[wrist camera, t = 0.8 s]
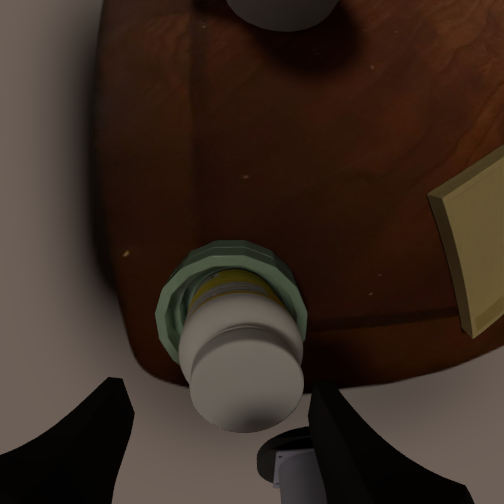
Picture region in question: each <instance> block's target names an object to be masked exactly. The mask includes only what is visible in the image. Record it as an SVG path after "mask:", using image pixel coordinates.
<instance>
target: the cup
mask: <svg viewBox="0 0 504 504" xmlns="http://www.w3.org/2000/svg"><path fill="white" fill-rule="evenodd" d="M226 1H227V3H228V5H229V7H230V8H231V9H232V10H233V11H234V12H235V14H236V15H238V16H239V17H241V18H242V19H243V20H245V21H246V22H248V23H250V24H253V25H255V26H257V27H260V28H263V29H268V30H273V31H286V32H293V31H298V30H304V29H308V28H310V27H312V26H315V25H317V24H319V23H320V22H321V21H323V20H324V19H325V18H327V17H328V15H329V14H330V13H331V12H332V10H333V8H334V7H335V5H336V4H337V2H338V1H339V0H226Z"/></svg>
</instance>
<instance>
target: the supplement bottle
mask: <svg viewBox="0 0 504 504" xmlns="http://www.w3.org/2000/svg"><path fill="white" fill-rule="evenodd" d="M302 357H303V343H302V337H301V334H300V331H299V329H298V327H297V325H296V323H295V321H294V319H293V317H292V316H291V315H290V313H289V312H288V310H287V309H286V307H285V306H284V305H283V303H282V302H281V300H280V299H279V297H278V296H277V295H276V293H275V292H274V290H273V289H272V287H271V286H270V285H269V283H268V282H267V281H266V280H265V279H264V278H263V277H261V276H260V275H258V274H257V273H255V272H253V271H250V270H247V269H244V268H235V267H234V268H225V269H221V270H218V271H216V272H214V273H212V274H210V275H209V276H207V277H206V278H205V279H204V280H203V281H202V282H201V283H200V284H199V286H198V287H197V289H196V290H195V292H194V294H193V297H192V300H191V303H190V306H189V310H188V313H187V317H186V320H185V323H184V327H183V330H182V333H181V337H180V342H179V362H180V366H181V369H182V372H183V374H184V376H185V378H186V380H187V381H188V383H189V384H190V385H189V389H190V396H191V399H192V402H193V405H194V406H195V408H196V410H197V411H198V412H199V414H200V415H201V416H202V417H203V418H204V419H205V420H207V421H208V422H209V423H211V424H213V425H214V426H217V427H218V428H221V429H224V430H227V431H231V432H238V433H251V432H258V431H262V430H265V429H268V428H271V427H273V426H275V425H277V424H279V423H280V422H282V421H283V420H284V419H286V418H287V417H288V416H289V415H290V414H291V413H292V412H293V411H294V410H295V408H296V407H297V405H298V404H299V402H300V399H301V397H302V394H303V389H304V377H303V372H302V370H301V367H300V366H301V362H302Z"/></svg>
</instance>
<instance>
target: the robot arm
mask: <svg viewBox="0 0 504 504" xmlns="http://www.w3.org/2000/svg"><path fill="white" fill-rule="evenodd" d="M134 414H135V413H134V410H133V407H132V405H131V402H130V399H129V396H128V394H127V391H126V388H125V385H124V382H123V379H122V378H113V377H108V378H107V379H106V380H105V381H104V382H103V383H102V384H100V385H99V386H98V388H96V389H95V390H94V391H93V392H92V393H91V394H90V395H89V396H88V397H87V398H86V399H85V400H84V401H82V402H81V403H80V404H79V405H78V406H77V407H76V408H75V409H74V410H73V411H71V412H70V413H69V414H68V415H67V416H65V417H64V418H63V419H62V420H61V421H59V422H58V423H57V424H56V425H55V426H53V427H52V428H50V429H49V430H47V431H46V432H44V433H43V434H41V435H40V436H38V437H37V438H35V439H33V440H31V441H29V442H28V443H26V444H24V445H22V446H20V447H18V448H16V449H14V450H12V451H9V452H7V453H4V454H2V455H0V504H111V503H112V497H113V491H114V486H115V482H116V478H117V475H118V471H119V468H120V465H121V462H122V459H123V456H124V453H125V450H126V447H127V444H128V441H129V438H130V435H131V430H132V425H133V420H134ZM308 420H309V428H310V434H311V440H312V444H313V447H310V448H299V449H286V450H278V451H277V452H276V459H275V470H274V480H273V487H274V488H280V493H281V504H474V501H473V499H472V497H471V495H470V492H469V491H468V489H467V488H466V486H465V485H463V484H460V483H457V482H455V481H452V480H449V479H447V478H444V477H442V476H440V475H438V474H435V473H433V472H431V471H429V470H427V469H425V468H424V467H422V466H420V465H419V464H417V463H416V462H414V461H412V460H410V459H409V458H407V457H406V456H405V455H403V454H402V453H400V452H399V451H398V450H396V449H395V448H394V447H393V446H391V445H390V444H389V443H388V442H386V441H385V440H384V439H383V438H382V437H381V436H379V435H378V434H377V433H376V432H375V431H374V430H373V429H372V428H371V427H370V426H369V425H368V424H367V423H366V422H365V421H364V420H363V419H362V418H361V417H360V415H359V414H358V413H357V412H356V411H355V410H354V409H353V407H352V406H351V405H350V404H349V403H348V401H347V400H346V399H345V398H344V397H343V395H342V394H341V393H340V391H339V390H338V389H337V387H336V386H335V385H334V383H333V382H332V381H331V380H320V381H314V383H313V389H312V395H311V401H310V407H309V413H308Z"/></svg>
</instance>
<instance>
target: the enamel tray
mask: <svg viewBox="0 0 504 504" xmlns="http://www.w3.org/2000/svg"><path fill="white" fill-rule="evenodd" d="M427 197H428V200H429V202H430V205H431V208H432V211H433V214H434V217H435V220H436V223H437V226H438V229H439V233H440V236H441V239H442V243H443V246H444V250H445V253H446V257H447V261H448V265H449V269H450V273H451V277H452V281H453V285H454V290H455V295H456V299H457V304H458V310H459V315H460V321H461V327H462V329H463V330H465V332H466V333H468V334H469V335H470V336H471V337H472V338H473V339H474V338H475V337H476V336H478V335H479V334H480V333H482V332H483V331H484V330H485V329H486V328H488V327H489V326H490V325H491V324H492V323H494V322H495V321H496V320H497V319H498V318H500V317H501V316H502V315H503V314H504V144H503V145H502V146H500V147H499V148H497V149H496V150H494V151H493V152H491V153H490V154H488V155H487V156H485V157H484V158H482V159H481V160H479V161H478V162H476V163H475V164H473V165H472V166H470V167H468V168H467V169H465V170H464V171H462V172H461V173H459V174H458V175H456V176H454V177H453V178H451V179H450V180H448V181H447V182H445V183H443V184H442V185H440V186H439V187H437V188H435V189H434V190H432V191H431V192H429V193H427Z"/></svg>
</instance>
